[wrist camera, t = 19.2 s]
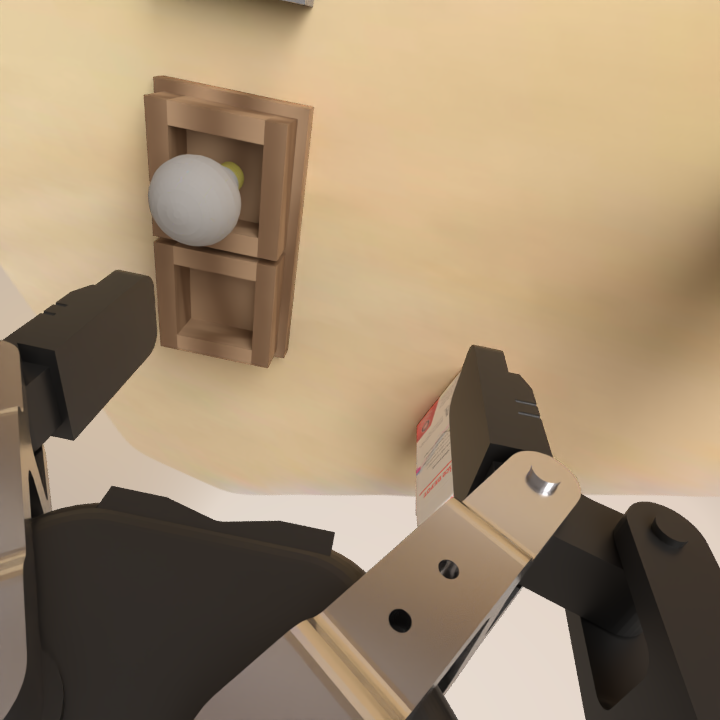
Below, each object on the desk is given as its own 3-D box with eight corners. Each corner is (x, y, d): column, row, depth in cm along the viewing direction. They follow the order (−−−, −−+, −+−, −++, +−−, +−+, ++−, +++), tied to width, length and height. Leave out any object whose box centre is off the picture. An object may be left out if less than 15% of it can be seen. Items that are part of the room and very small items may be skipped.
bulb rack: (313, 107, 35) (300, 114, 31) (287, 349, 46) (275, 376, 43) (163, 75, 35) (131, 79, 31) (174, 326, 46) (152, 351, 43)
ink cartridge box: (456, 444, 51) (466, 573, 38) (415, 424, 50) (411, 549, 38) (508, 388, 46) (537, 513, 34) (463, 364, 45) (477, 484, 33)
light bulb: (207, 212, 38) (147, 260, 30) (190, 137, 35) (118, 167, 27) (274, 210, 38) (231, 258, 29) (262, 133, 35) (211, 162, 26)
